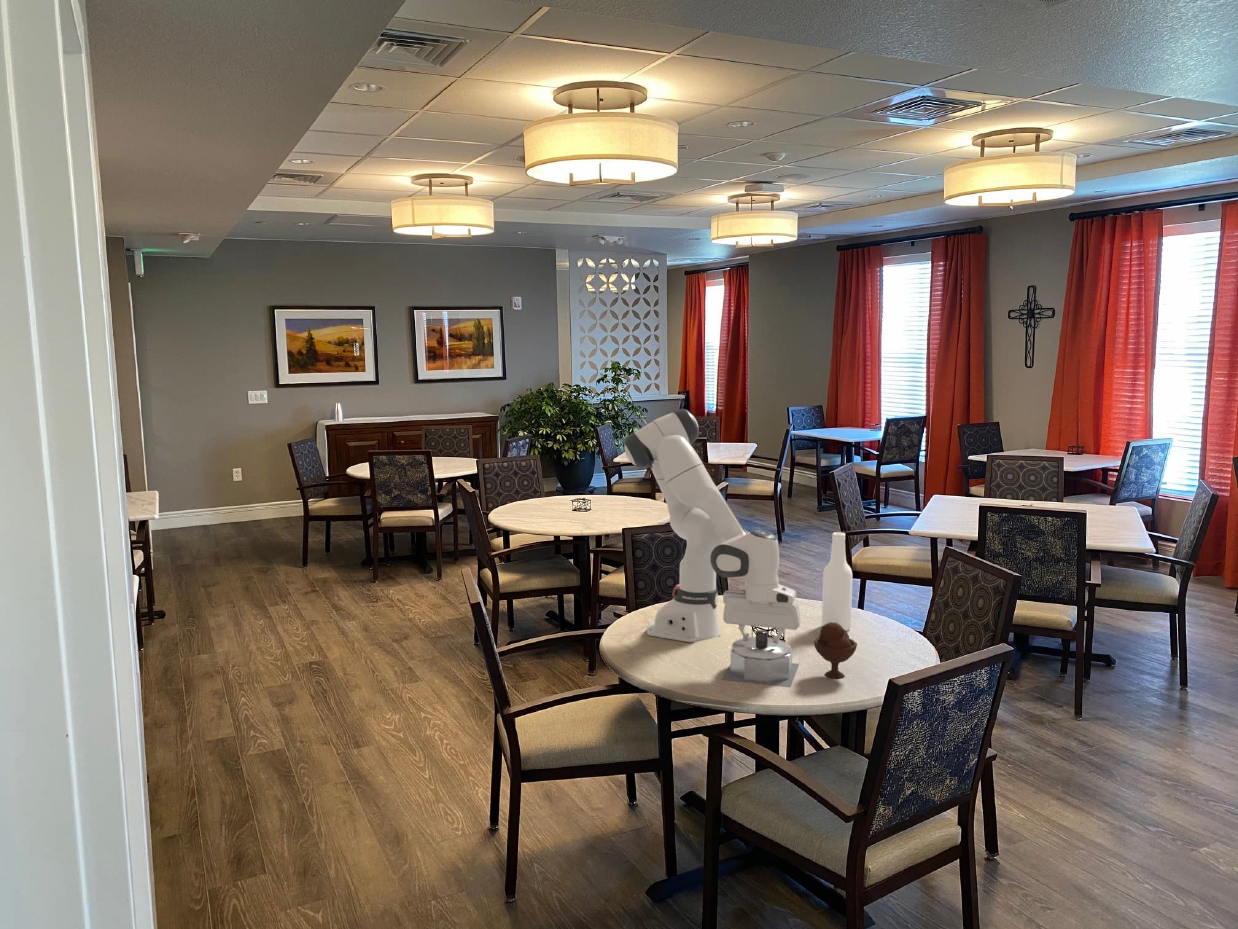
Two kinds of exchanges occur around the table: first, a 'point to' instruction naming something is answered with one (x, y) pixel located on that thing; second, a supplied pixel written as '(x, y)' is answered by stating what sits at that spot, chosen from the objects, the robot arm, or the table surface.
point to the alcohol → (837, 586)
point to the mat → (782, 683)
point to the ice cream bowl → (834, 647)
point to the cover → (761, 659)
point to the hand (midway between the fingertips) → (761, 642)
